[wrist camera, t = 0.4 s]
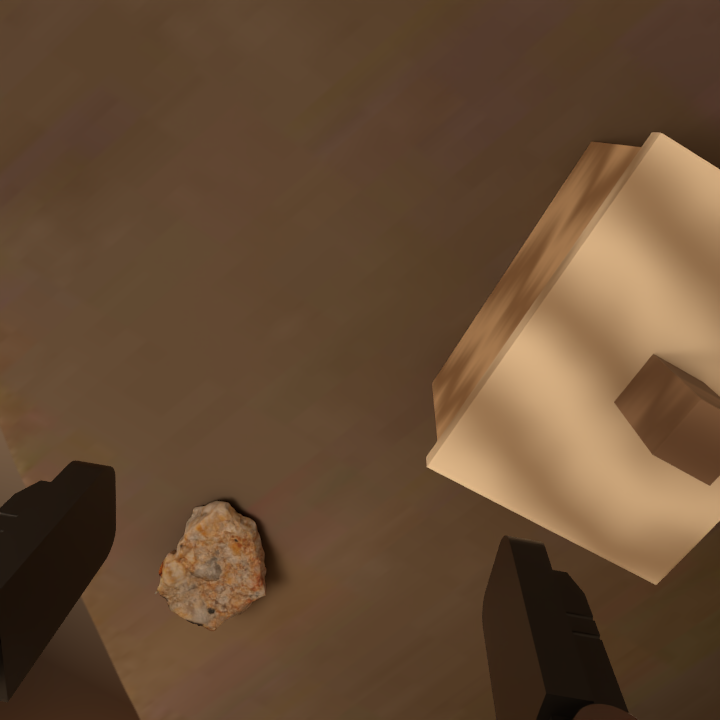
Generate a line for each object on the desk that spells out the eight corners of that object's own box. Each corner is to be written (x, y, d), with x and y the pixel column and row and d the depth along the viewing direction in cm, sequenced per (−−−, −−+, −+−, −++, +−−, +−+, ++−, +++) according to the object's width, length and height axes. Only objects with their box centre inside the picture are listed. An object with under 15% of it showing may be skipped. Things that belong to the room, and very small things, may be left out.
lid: (651, 132, 26) (719, 135, 20) (916, 297, 28) (1044, 342, 22) (426, 457, 33) (430, 526, 27) (649, 572, 34) (696, 659, 29)
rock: (244, 613, 51) (300, 555, 46) (203, 667, 46) (260, 610, 41) (170, 545, 52) (217, 480, 46) (121, 592, 47) (167, 525, 41)
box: (591, 141, 35) (653, 148, 26) (780, 257, 36) (899, 301, 28) (432, 383, 41) (438, 454, 33) (598, 472, 43) (648, 563, 34)
